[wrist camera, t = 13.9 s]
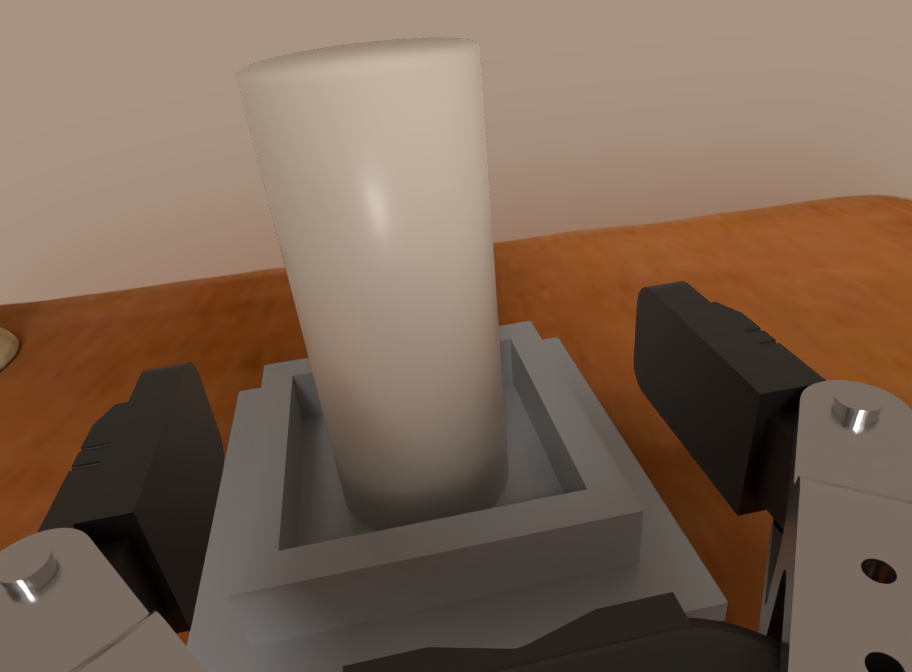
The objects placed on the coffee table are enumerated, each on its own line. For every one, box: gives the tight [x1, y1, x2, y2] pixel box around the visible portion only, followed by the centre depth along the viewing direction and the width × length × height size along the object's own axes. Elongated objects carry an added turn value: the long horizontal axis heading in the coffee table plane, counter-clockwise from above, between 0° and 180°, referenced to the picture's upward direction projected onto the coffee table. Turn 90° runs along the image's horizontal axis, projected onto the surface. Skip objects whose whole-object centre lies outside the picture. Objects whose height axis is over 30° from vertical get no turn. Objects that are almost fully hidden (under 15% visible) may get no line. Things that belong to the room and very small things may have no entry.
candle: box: [236, 38, 508, 531], centre depth 19 cm, size 6×6×14 cm
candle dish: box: [187, 321, 728, 672], centre depth 23 cm, size 15×15×3 cm
